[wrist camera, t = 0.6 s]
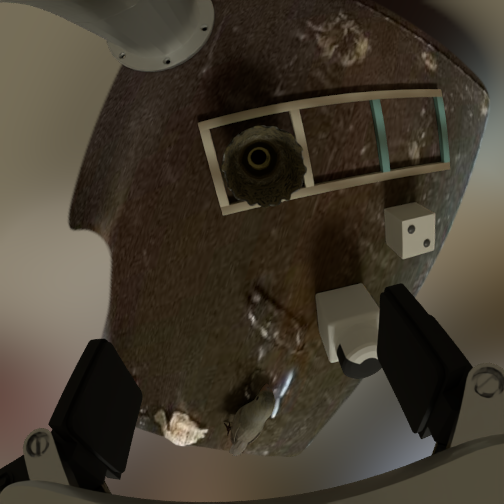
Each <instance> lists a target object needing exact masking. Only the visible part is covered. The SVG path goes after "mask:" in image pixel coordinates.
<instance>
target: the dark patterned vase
mask: <svg viewBox="0 0 504 504" xmlns="http://www.w3.org/2000/svg"><path fill="white" fill-rule="evenodd" d="M256 150H261V151H263V152H264V153H265V155H266V160H265V161H264V162H263V163H262V164H255V163H254V162H253V161H252V159H251V156H252V153H253V152H254V151H256ZM302 152H303V148H302V147H301V145H300V144H299V143H297V141H296V139H295V137H294V136H293V135H292V134H290V133H289V132H287V131H284V130H281V129H278V128H277V127H276V126H268V127H267V126H264V125H258V126H254V127H251V128H248V129H246V130H245V131H243V132H241V134H238V135H237V136H235V137H234V138H233V140H232V142H231V143H230V144H229V145H228V146H227V148H226V150H225V152H224V155H223V163H222V171H224V174H225V179H226V180H227V187H228V189H229V190H231V191H232V193H233V195H234V197H235V198H236V199H237V200H240V201H246V202H247V203H248V204H249V205H250V206H255V204H258V205H259V206H262V207H265V208H267V207H269V206H270V205H271V206H278V205H279V204H280V203H281V201H282V199H283V200H286V201H289V200H290V199H291V194H293V193H294V192H297V191H298V190H300V189H301V187H302V185H303V179H304V175H306V173H307V167H306V166H305V165H304V162H303V160H304V158H303V156H302Z"/></svg>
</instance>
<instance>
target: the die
mask: <svg viewBox="0 0 504 504" xmlns="http://www.w3.org/2000/svg"><path fill="white" fill-rule="evenodd" d="M384 215H385V233H386V244H387V245H388V246H389V247H390V248H391V249H392V250H393V251H394V252H396V253H397V254H398V255H399V256H400V257H401V258H402V259H405V258H409V257H412V256H416V255H419V254H423V253H426V252H429V251H433V250H434V243H435V213H433V212H432V211H430V210H428V209H427V208H425V207H423V206H421V205H419V204H418V203H416V202H413V203H409V204H404V205H399V206H395V207H390V208H386V209H384Z"/></svg>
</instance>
